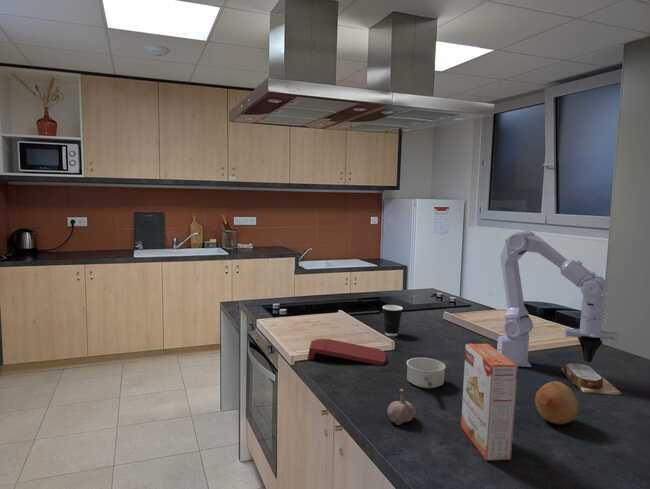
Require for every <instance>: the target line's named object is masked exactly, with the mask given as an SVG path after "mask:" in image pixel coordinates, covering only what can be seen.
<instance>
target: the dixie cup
mask: <svg viewBox="0 0 650 489" xmlns="http://www.w3.org/2000/svg"><path fill="white" fill-rule="evenodd" d="M403 308H404V307H402V306H401V305H395V304H385V305H383V306H382V310H383V313H382V314H383V327H384V333H385V334H384V335H386V336H387V337H398V335H399V334H398V333H399V329H400V325H401V318H402V312H403Z"/></svg>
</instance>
